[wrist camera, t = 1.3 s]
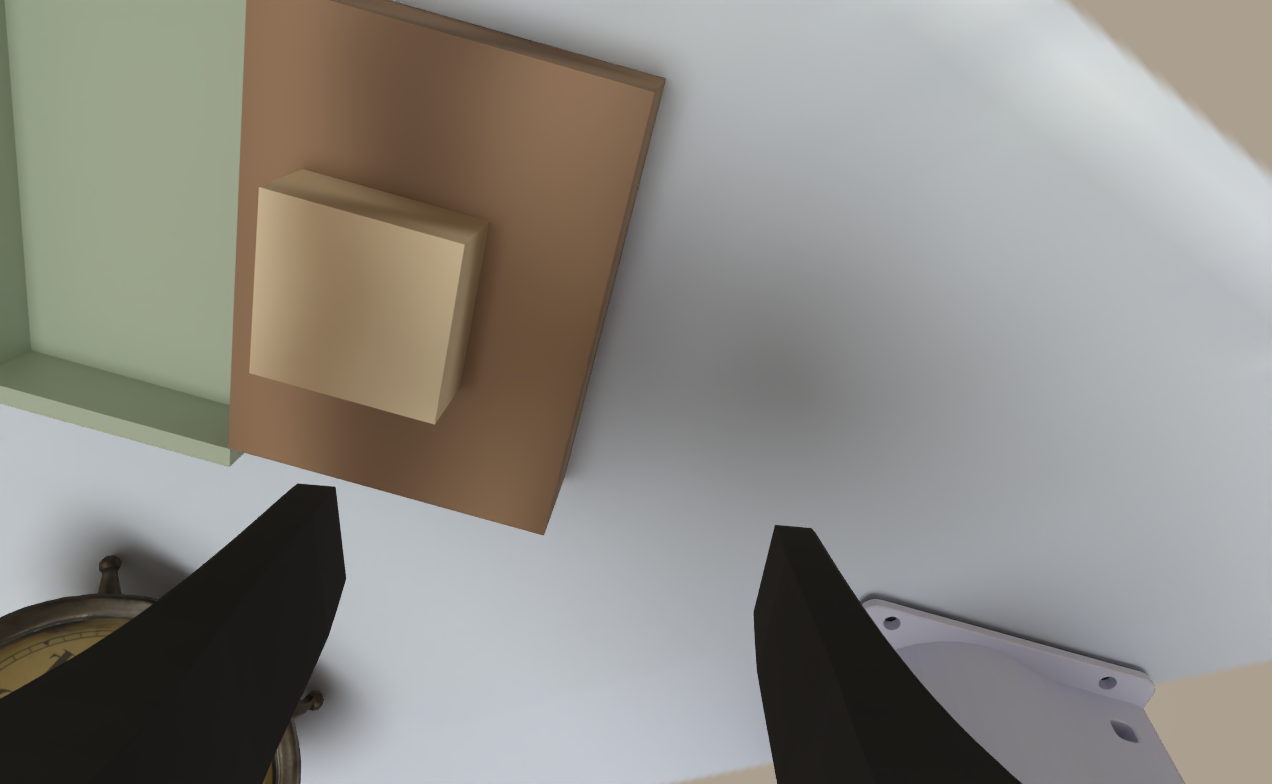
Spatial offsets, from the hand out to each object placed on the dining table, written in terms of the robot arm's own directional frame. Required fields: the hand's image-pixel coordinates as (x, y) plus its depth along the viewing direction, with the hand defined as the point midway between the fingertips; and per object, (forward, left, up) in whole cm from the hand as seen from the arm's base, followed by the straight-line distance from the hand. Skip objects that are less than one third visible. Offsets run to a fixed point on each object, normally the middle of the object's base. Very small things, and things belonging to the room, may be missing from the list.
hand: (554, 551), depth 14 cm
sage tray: (+14, 0, -11) cm, 18 cm away
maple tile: (+6, 0, -8) cm, 10 cm away
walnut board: (+5, 0, -11) cm, 12 cm away
